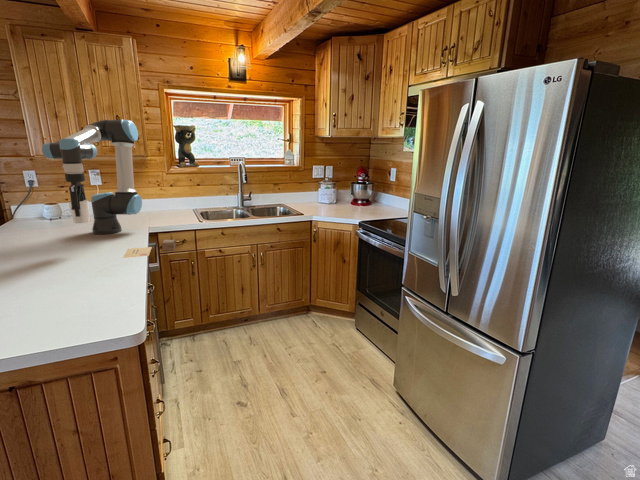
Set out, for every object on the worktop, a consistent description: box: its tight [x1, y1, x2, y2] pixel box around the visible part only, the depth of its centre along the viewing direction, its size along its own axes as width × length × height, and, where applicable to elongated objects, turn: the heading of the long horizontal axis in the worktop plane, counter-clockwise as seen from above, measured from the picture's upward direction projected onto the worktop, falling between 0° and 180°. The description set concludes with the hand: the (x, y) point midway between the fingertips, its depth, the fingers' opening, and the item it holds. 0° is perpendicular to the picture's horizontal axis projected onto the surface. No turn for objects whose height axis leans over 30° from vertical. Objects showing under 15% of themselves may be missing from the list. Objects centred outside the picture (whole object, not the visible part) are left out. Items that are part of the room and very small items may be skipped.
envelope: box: [122, 246, 153, 259], centre depth 175 cm, size 16×11×1 cm
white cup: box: [68, 199, 91, 224], centre depth 172 cm, size 8×8×10 cm
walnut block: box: [161, 239, 177, 253], centre depth 179 cm, size 5×5×5 cm
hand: (82, 221), depth 173 cm, fingers closed on white cup, 8 cm apart
